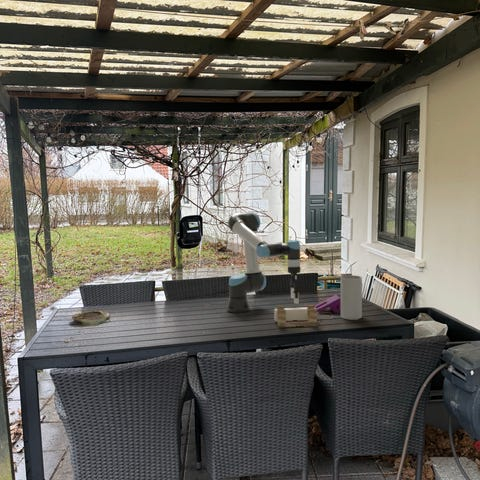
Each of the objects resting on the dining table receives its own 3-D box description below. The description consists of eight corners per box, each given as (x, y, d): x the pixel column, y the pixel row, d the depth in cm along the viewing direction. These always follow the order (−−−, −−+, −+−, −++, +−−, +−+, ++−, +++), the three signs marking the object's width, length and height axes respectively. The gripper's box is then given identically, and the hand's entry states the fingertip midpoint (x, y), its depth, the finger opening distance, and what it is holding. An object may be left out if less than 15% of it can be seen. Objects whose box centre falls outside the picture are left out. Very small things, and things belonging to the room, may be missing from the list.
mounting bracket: (320, 322, 273) (345, 309, 273) (315, 310, 272) (340, 298, 272) (317, 318, 282) (341, 305, 282) (311, 307, 281) (336, 294, 281)
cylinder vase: (336, 317, 261) (336, 277, 259) (347, 313, 270) (347, 274, 268) (355, 321, 253) (355, 280, 250) (365, 316, 262) (365, 276, 259)
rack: (277, 322, 255) (277, 306, 254) (314, 321, 255) (313, 304, 254) (279, 327, 245) (278, 310, 244) (317, 326, 246) (317, 309, 245)
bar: (274, 319, 261) (274, 308, 260) (318, 318, 263) (317, 306, 262) (275, 321, 257) (275, 310, 256) (319, 319, 259) (319, 308, 258)
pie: (79, 330, 249) (78, 322, 249) (58, 322, 268) (57, 315, 267) (121, 319, 270) (120, 312, 269) (99, 313, 288) (98, 305, 288)
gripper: (303, 269, 244) (304, 305, 246) (297, 262, 269) (297, 296, 271) (290, 269, 244) (291, 305, 246) (285, 263, 269) (286, 296, 270)
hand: (294, 300), depth 258 cm, fingers open, 13 cm apart
